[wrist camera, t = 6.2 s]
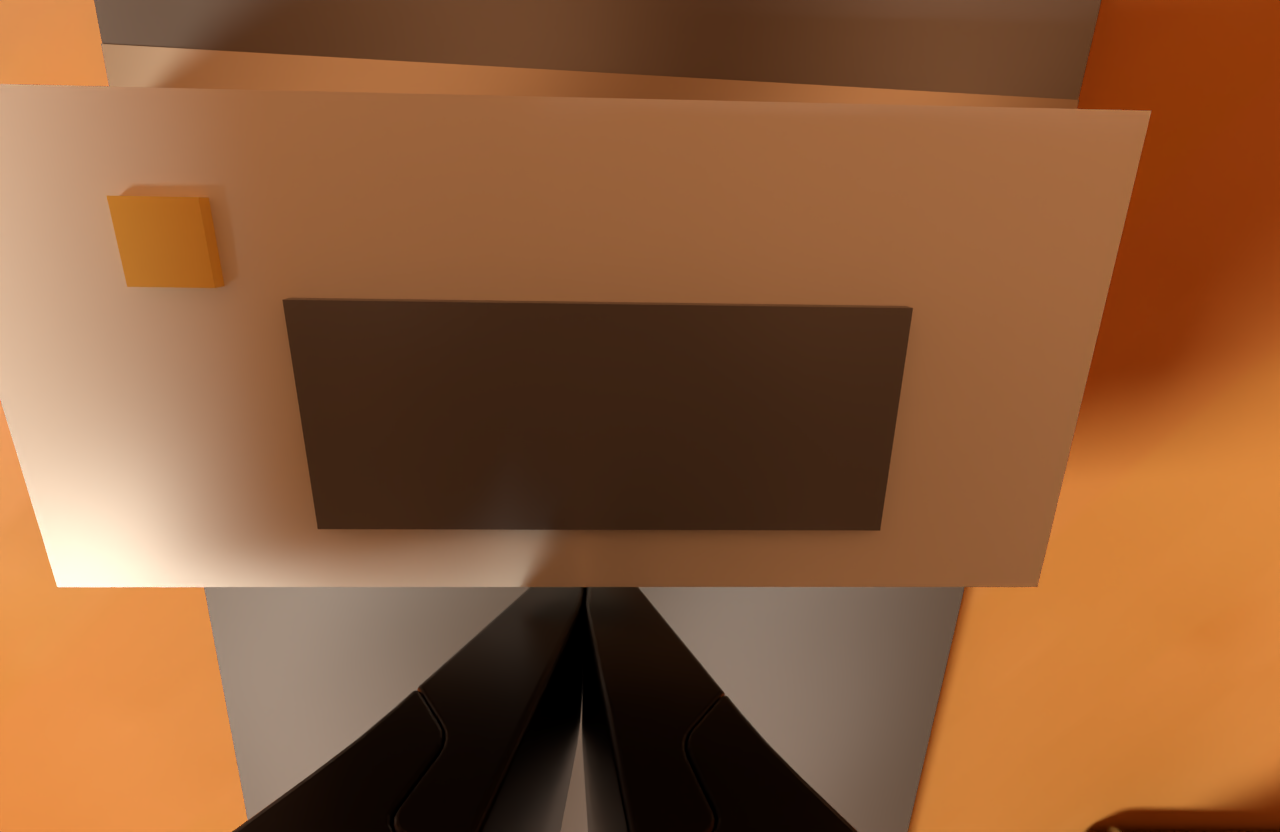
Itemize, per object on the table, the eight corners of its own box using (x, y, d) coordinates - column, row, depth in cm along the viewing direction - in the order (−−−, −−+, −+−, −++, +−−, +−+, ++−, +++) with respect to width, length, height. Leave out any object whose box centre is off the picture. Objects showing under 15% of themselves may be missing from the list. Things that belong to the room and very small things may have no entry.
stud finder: (997, 138, 8) (1164, 108, 6) (936, 494, 10) (1045, 594, 7) (121, 120, 8) (-117, 77, 5) (200, 491, 9) (45, 595, 7)
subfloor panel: (1113, -169, 8) (1147, -195, 7) (860, 971, 14) (869, 999, 13) (79, -248, 7) (40, -280, 7) (293, 970, 13) (280, 999, 13)
